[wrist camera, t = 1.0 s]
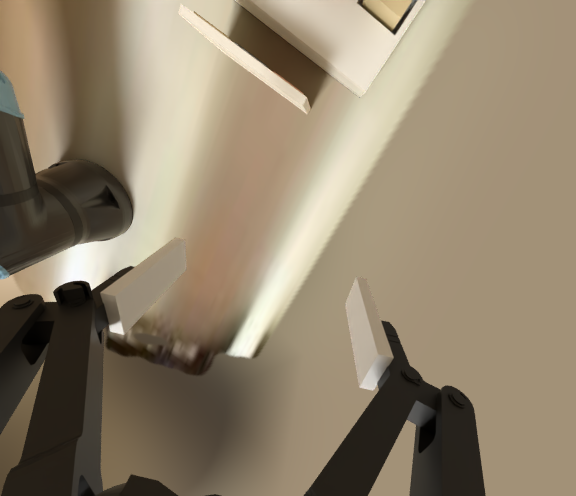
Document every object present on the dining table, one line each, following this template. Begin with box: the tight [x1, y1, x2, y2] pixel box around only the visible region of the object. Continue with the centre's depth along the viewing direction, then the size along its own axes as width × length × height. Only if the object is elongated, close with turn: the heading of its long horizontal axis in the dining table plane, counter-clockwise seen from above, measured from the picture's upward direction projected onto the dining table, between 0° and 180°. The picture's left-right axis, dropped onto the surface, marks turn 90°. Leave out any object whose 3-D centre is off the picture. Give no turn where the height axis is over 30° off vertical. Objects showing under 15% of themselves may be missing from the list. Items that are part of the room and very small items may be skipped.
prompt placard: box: [178, 4, 311, 114], centre depth 27 cm, size 14×1×11 cm, turn 58°
